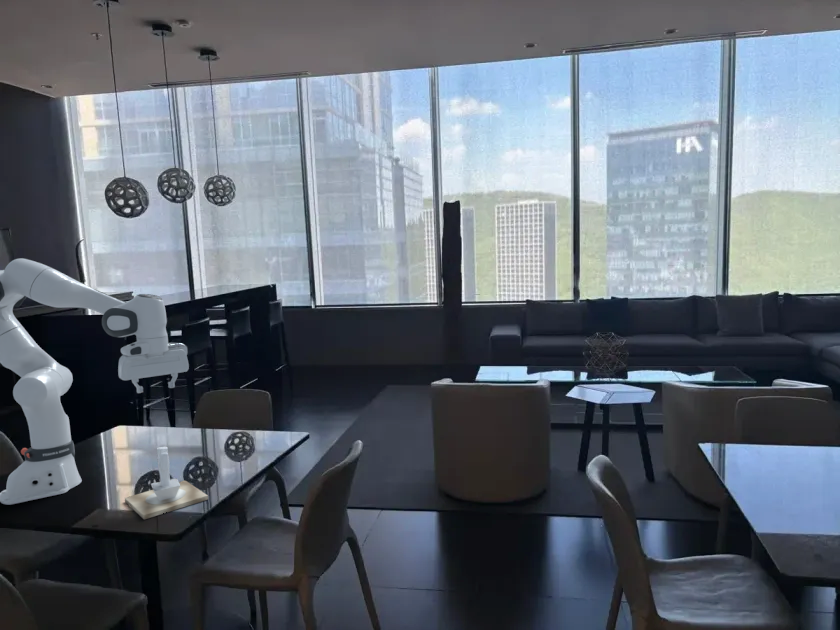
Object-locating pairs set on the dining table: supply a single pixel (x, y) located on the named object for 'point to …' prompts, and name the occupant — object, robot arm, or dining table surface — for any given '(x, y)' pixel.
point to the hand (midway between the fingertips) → (156, 390)
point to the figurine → (165, 477)
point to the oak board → (165, 501)
